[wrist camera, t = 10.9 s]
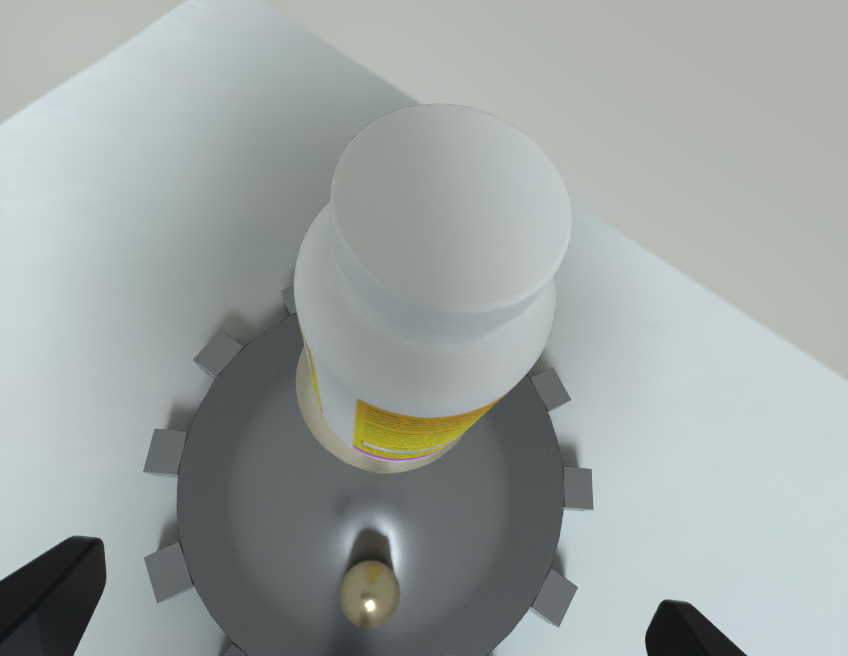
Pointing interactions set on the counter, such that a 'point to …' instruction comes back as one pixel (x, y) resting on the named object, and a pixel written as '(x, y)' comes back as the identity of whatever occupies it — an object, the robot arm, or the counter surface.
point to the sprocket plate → (359, 517)
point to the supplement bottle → (429, 277)
